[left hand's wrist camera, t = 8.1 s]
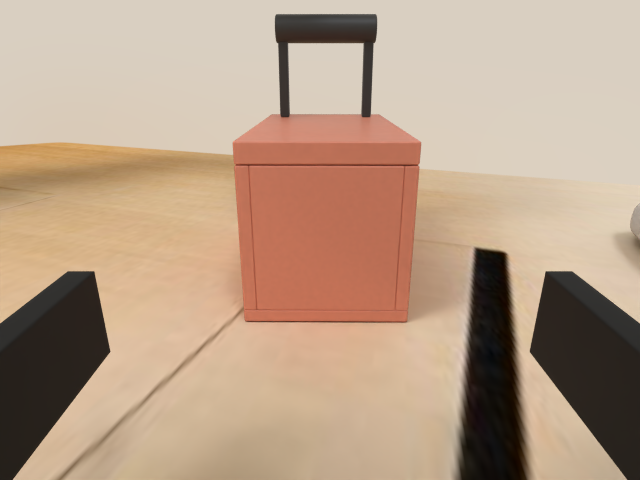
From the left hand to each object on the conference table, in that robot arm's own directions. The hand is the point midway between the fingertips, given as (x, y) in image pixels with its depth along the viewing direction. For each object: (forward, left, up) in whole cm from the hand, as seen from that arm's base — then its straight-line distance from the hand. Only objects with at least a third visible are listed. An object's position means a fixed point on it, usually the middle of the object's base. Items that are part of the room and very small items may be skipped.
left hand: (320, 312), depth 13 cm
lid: (+16, -11, +2) cm, 20 cm away
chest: (+16, -11, -7) cm, 20 cm away
